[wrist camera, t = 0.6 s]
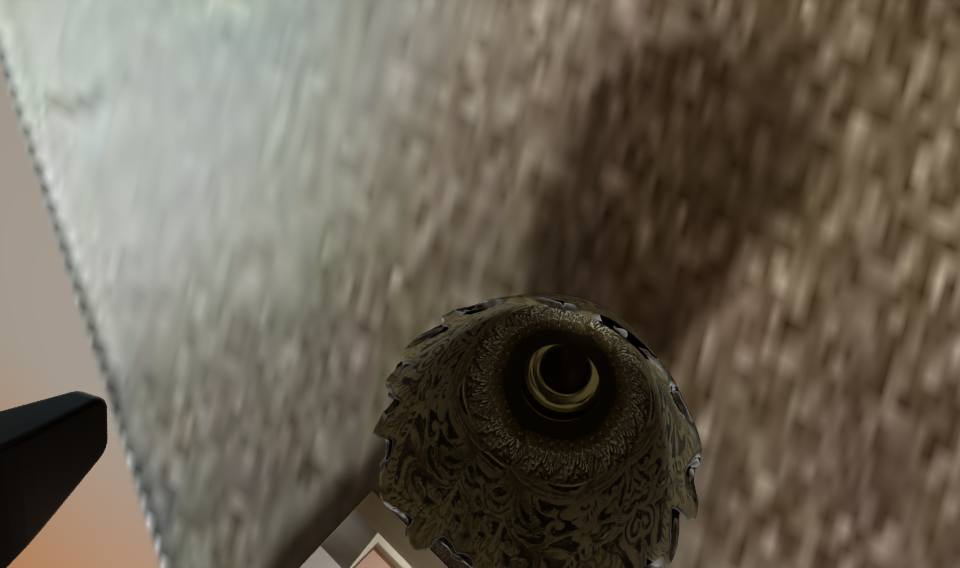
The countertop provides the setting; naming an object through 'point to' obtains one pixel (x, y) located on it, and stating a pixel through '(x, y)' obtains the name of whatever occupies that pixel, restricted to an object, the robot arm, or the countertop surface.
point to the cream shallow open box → (370, 542)
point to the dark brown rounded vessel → (538, 441)
